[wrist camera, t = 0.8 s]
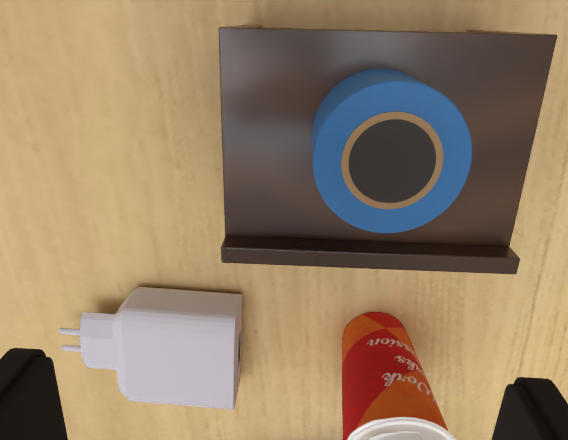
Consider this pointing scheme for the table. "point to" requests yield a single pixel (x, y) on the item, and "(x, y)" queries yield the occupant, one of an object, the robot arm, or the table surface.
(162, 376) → the charger
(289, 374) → the table surface
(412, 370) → the paper cup
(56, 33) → the table surface
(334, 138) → the tape roll
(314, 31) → the desk shelf
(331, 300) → the table surface
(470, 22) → the table surface
